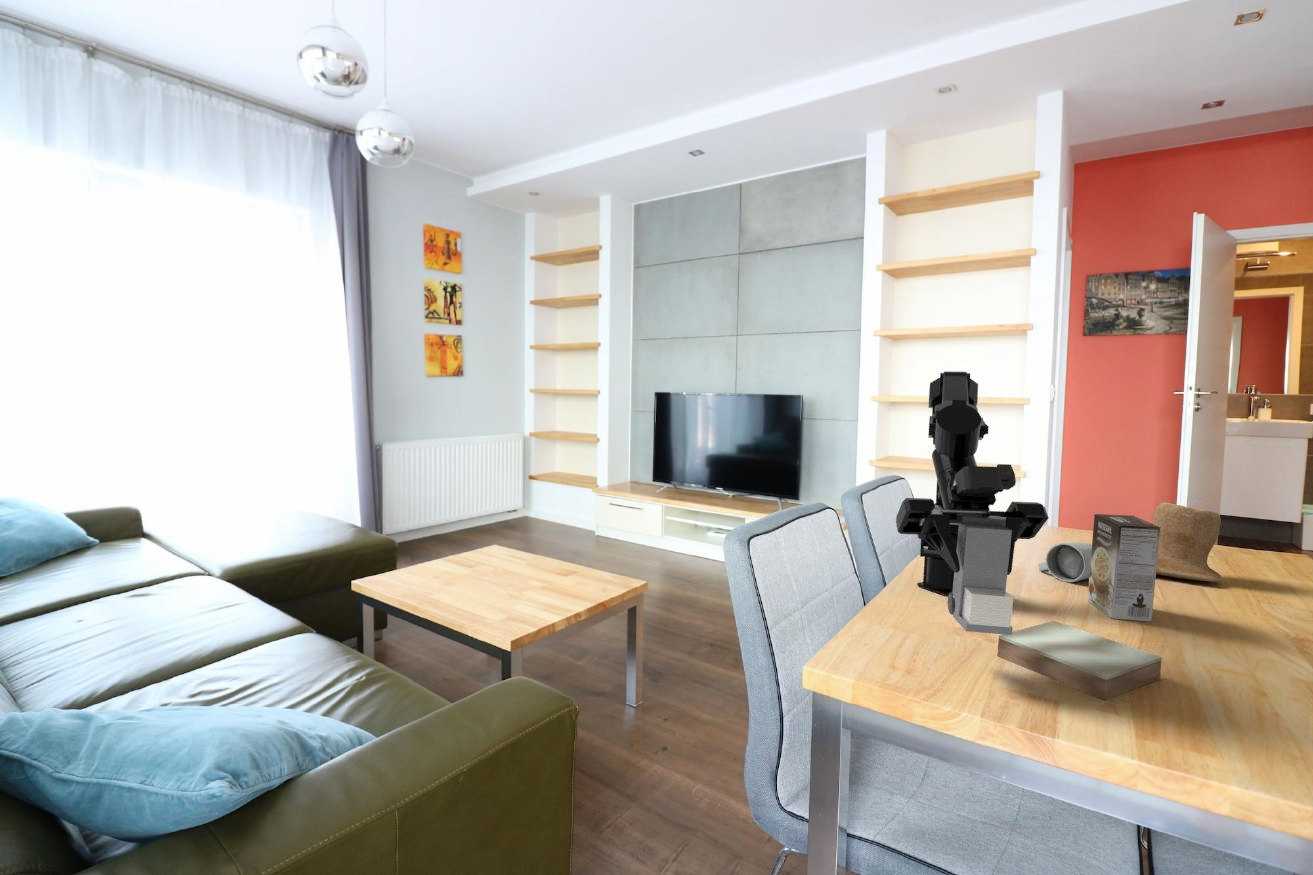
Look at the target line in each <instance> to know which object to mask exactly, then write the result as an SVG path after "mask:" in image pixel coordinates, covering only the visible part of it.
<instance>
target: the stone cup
mask: <svg viewBox="0 0 1313 875" xmlns="http://www.w3.org/2000/svg"><path fill="white" fill-rule="evenodd" d="M1152 521H1153V523H1152V524H1154V525H1156V526H1158V527H1161V529H1160V539H1159V549H1158V559H1157V569H1156V576H1163V577H1168V578H1169V577H1170V578H1174V579H1183V580H1190V581H1191V580H1192V581H1200V582H1201V581H1203V582H1219V581H1220V580H1221V579H1222V576H1221V574H1220V573H1219V572H1217V571H1215V570H1214V569H1213V568H1211V567H1210V566H1209V564H1208V558H1209V555H1210V552H1211V551H1212V549H1213V548H1214V546H1215V544H1216V542H1217V540H1218V538H1219V536H1220V529H1221V522H1222V520H1221V516H1220V515H1219V513H1217V512H1215V511H1212V510H1207V509H1201V508H1195V507H1187V506H1185V505H1180V504H1175V503H1169V502H1161V503H1159V504H1158V505H1157V507H1156V509H1155V511H1154V514H1153V520H1152Z"/></svg>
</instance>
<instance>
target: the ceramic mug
mask: <svg viewBox="0 0 1313 875" xmlns="http://www.w3.org/2000/svg"><path fill="white" fill-rule="evenodd" d="M1091 552H1092V543H1091V544H1090V543H1088V542H1081V541H1080V542H1078V541H1077V542H1059V543H1057V544H1053V546H1052V547H1050V548H1049V550H1048V551H1047V552H1046V556H1045V561H1043V562H1040V563H1038V564H1037V566H1038V570H1039V572H1045V571H1049V573H1050V574H1051V575H1052V576H1053V577H1054V578H1055V579H1056V580H1058V581H1061V582H1064V583H1075V582H1080V581H1084V580H1087V579H1088V580H1089V576H1090V563H1091Z"/></svg>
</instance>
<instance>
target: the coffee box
mask: <svg viewBox="0 0 1313 875" xmlns="http://www.w3.org/2000/svg"><path fill="white" fill-rule="evenodd" d="M1093 516H1094V517H1093V529H1092V543H1091V545H1092V552H1091V563H1090V576H1089V578H1088V588H1087V589H1088V590H1087V591H1088V592H1087V601H1088V602H1089V603H1090V604H1092V606H1094V607H1096V608H1097V609H1098V610H1099V611H1101V612H1102V613H1104V614H1105V615H1106V616H1107V617H1109V618H1110V619H1112V620H1113V619H1114V620H1125V621H1137V622H1138V621H1139V622H1152V621H1153V620H1152V619H1153V609H1154V600H1155V599H1154V598H1155V589H1156V588H1155V587H1156V576H1157V575H1156V569H1157V559H1158V549H1159V539H1160V529H1161V527H1158V526H1156V525H1154V524H1153V523H1151V522H1149V521H1146V520H1145V519H1142V518H1139V517H1137V516H1135V515H1128V514H1127V515H1125V514H1123V515H1122V514H1102V513H1100V514H1099V513H1098V514H1097V513H1095V514H1094V515H1093Z"/></svg>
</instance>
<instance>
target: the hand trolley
mask: <svg viewBox="0 0 1313 875" xmlns="http://www.w3.org/2000/svg"><path fill="white" fill-rule="evenodd" d="M957 521H958V522H959V529H958V539H957V550H956V552H957V555H958V559H959V564H960V570H959V572H958V573H955V572H954V581H953V592H951V593H950V594H949V595H947V609H948V613H949V614H950V615H951V616H952V618H954V620H955V622H957V623H958V624H959V625H960V626H961V627H962V629H964V631H966V632H972V633H973V632H974V633H983V634H992V635H993V634H996V635H1002V634H1004V635H1012V632H1013V629H1014V627H1013V626H1011V625H1012V624H1011V622H1012V621H1011V620H1012V614H1013V604H1014V597H1013V596H1012V595H1011V594H1010V593H1009V592H1007V582H1008V575H1007V573H1008V563H1009V554H1010V544H1011V534H1012V530H1010V529H1008V528H1006V527H1005V526H1006V519H1004V518H1002V517H1000V516H987V515H972V514H957Z"/></svg>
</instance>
